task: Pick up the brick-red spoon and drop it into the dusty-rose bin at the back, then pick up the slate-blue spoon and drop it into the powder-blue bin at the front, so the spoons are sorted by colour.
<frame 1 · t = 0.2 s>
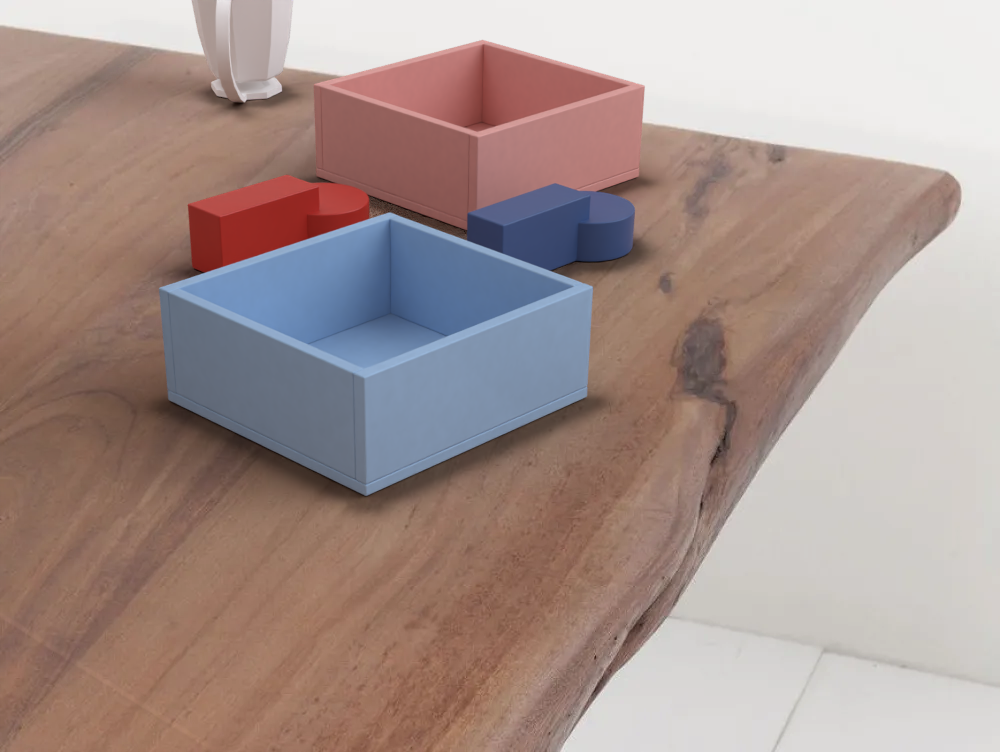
blue bin: (379, 398, 81), on the table
rose bin: (478, 176, 104), on the table
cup: (242, 100, 115), on the table
blue spoon: (527, 266, 94), on the table
red spoon: (257, 258, 94), on the table
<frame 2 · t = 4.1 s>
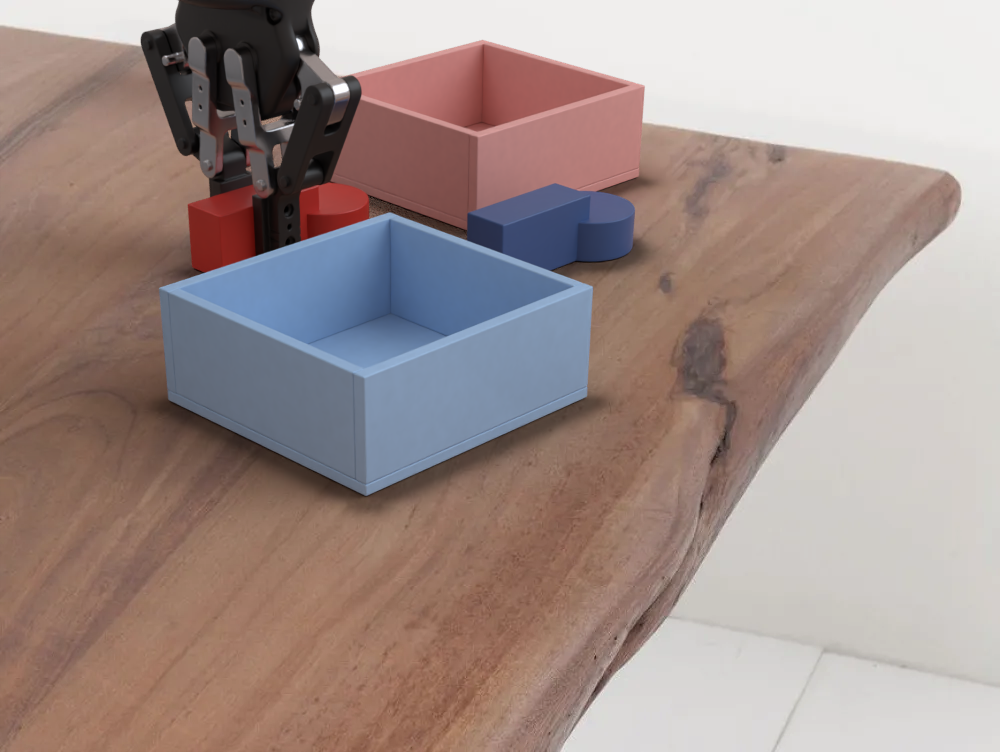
hand: (257, 256, 94), 0 cm above the table, tool pointing down, fingers closed on red spoon, 2 cm apart
red spoon: (257, 257, 94), on the table, touching gripper
everything else where it was.
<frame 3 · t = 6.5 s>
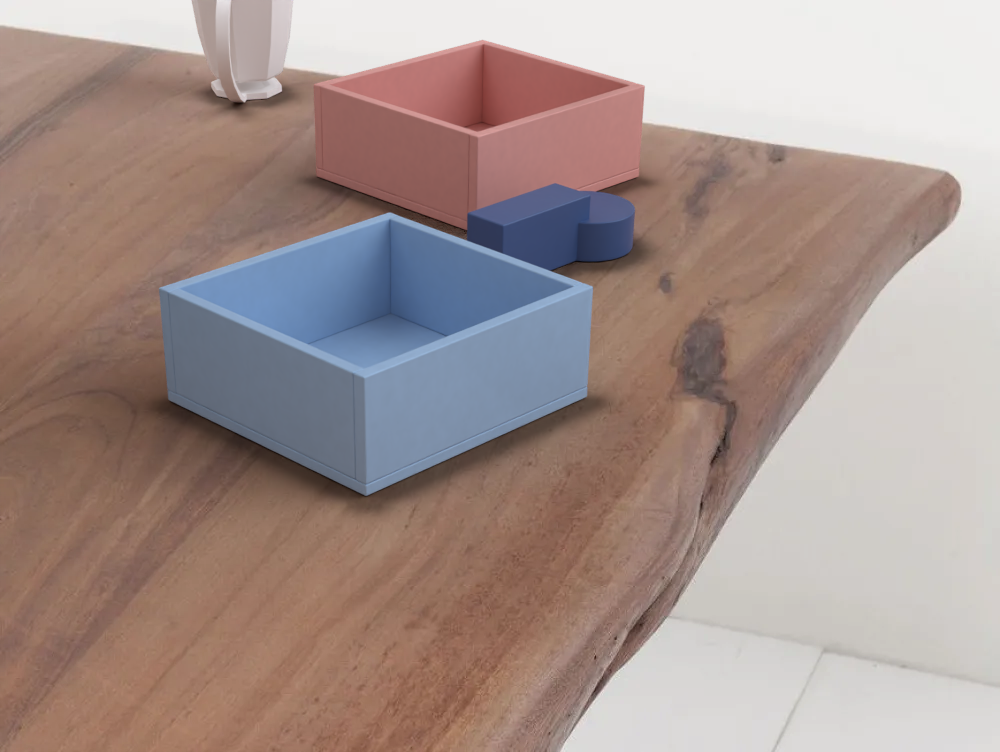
when the fingers open (5 cm above the table, at t = 9.1 s): red spoon drops 2 cm, resting on rose bin.
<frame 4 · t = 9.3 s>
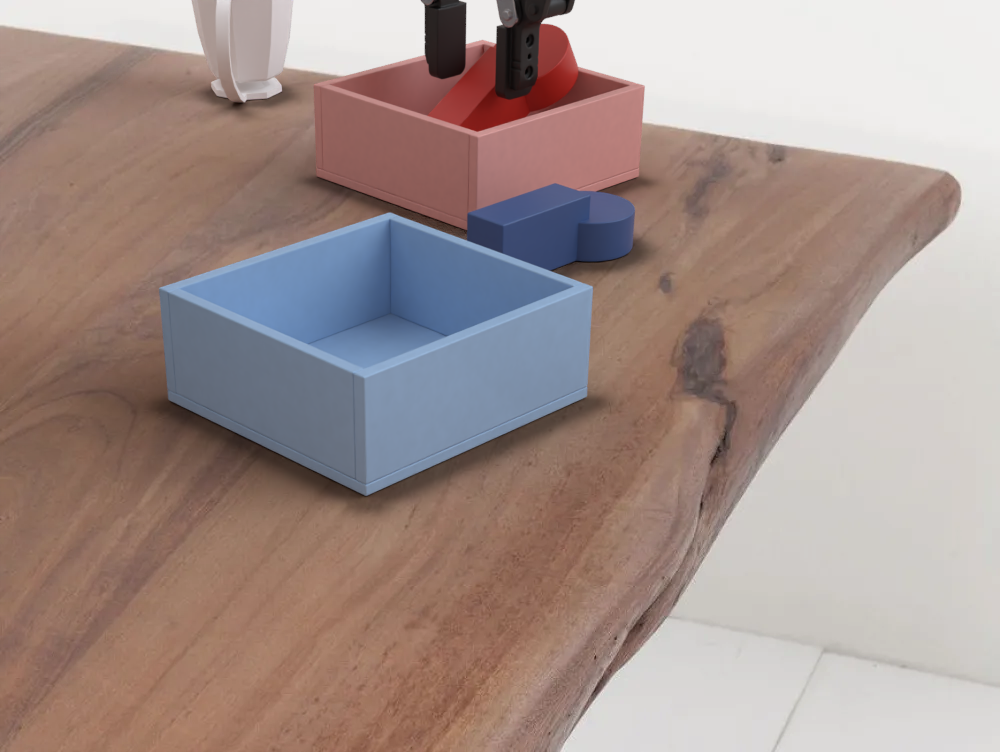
hand: (480, 84, 102), 5 cm above the table, tool pointing down, fingers open, 4 cm apart
red spoon: (489, 136, 104), point 2 cm above the table, tilted 29°, touching rose bin
everything else where it was.
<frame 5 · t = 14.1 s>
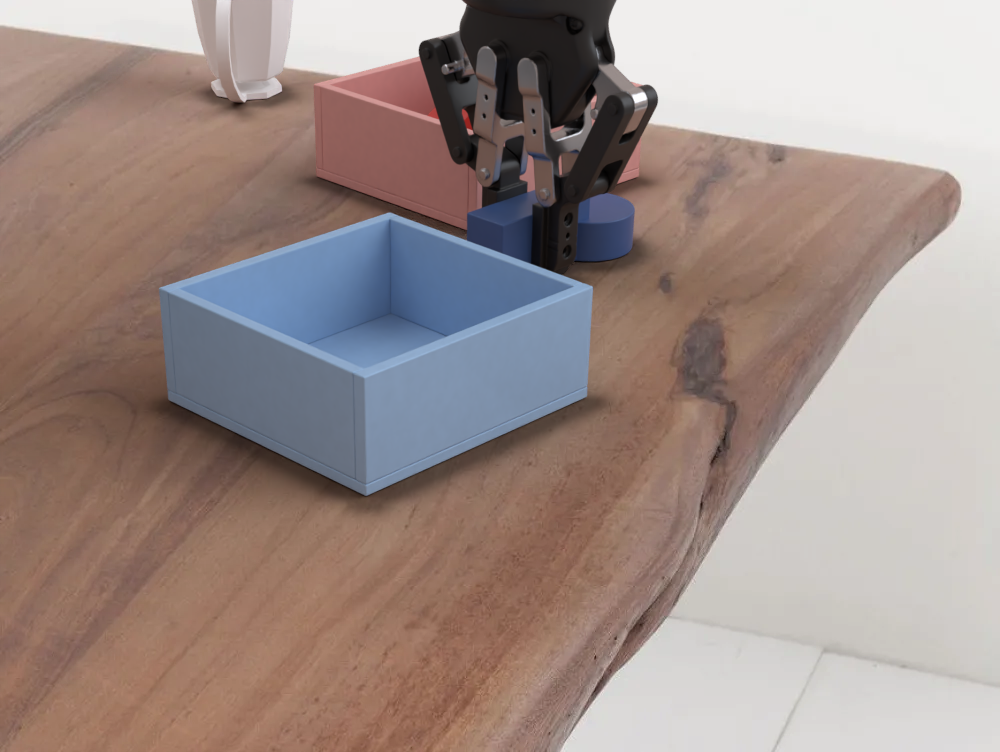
hand: (528, 264, 94), 0 cm above the table, tool pointing down, fingers closed on blue spoon, 2 cm apart
blue spoon: (527, 266, 94), on the table, touching gripper
everything else where it was.
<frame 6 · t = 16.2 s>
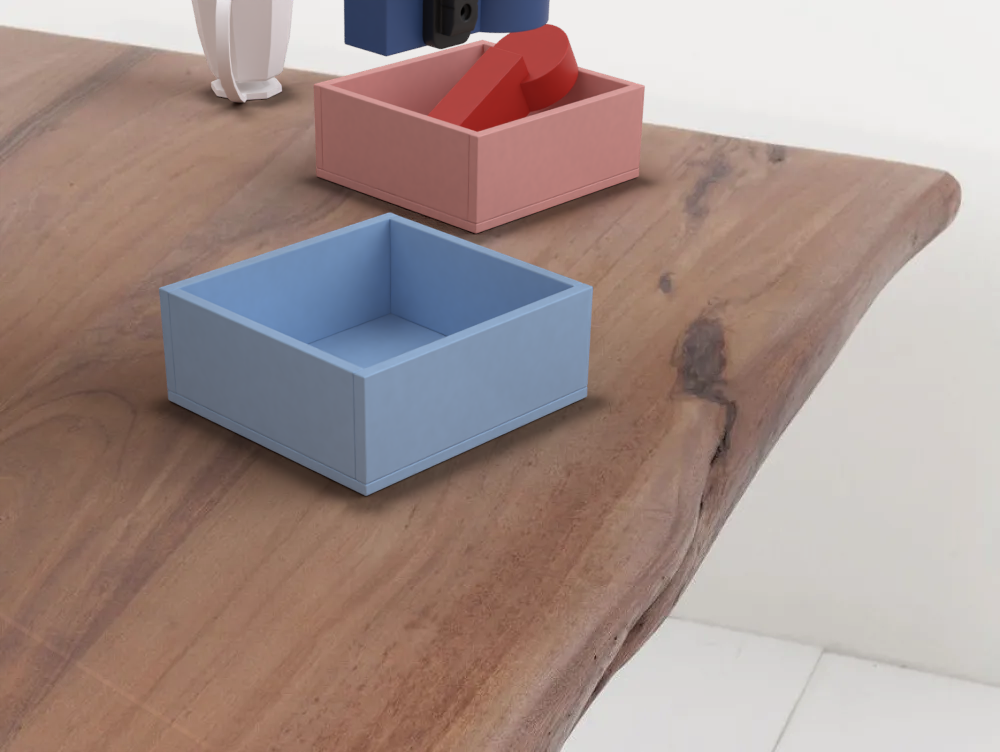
hand: (420, 34, 77), 14 cm above the table, tool pointing down, fingers closed on blue spoon, 2 cm apart
blue spoon: (420, 36, 77), point 14 cm above the table, touching gripper
everything else where it was.
when the fingers open (5 cm above the table, at t = 18.8 s): blue spoon drops 3 cm, resting on blue bin.
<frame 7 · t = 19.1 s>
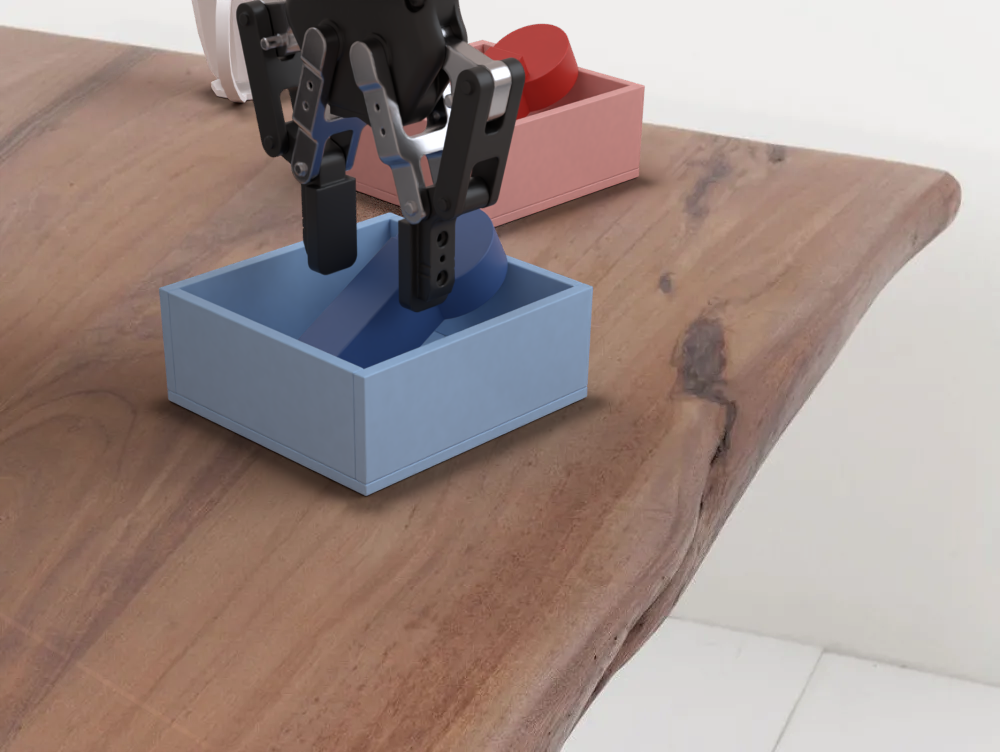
hand: (378, 285, 78), 5 cm above the table, tool pointing down, fingers open, 5 cm apart
blue spoon: (391, 350, 80), point 2 cm above the table, tilted 29°, touching blue bin
everything else where it was.
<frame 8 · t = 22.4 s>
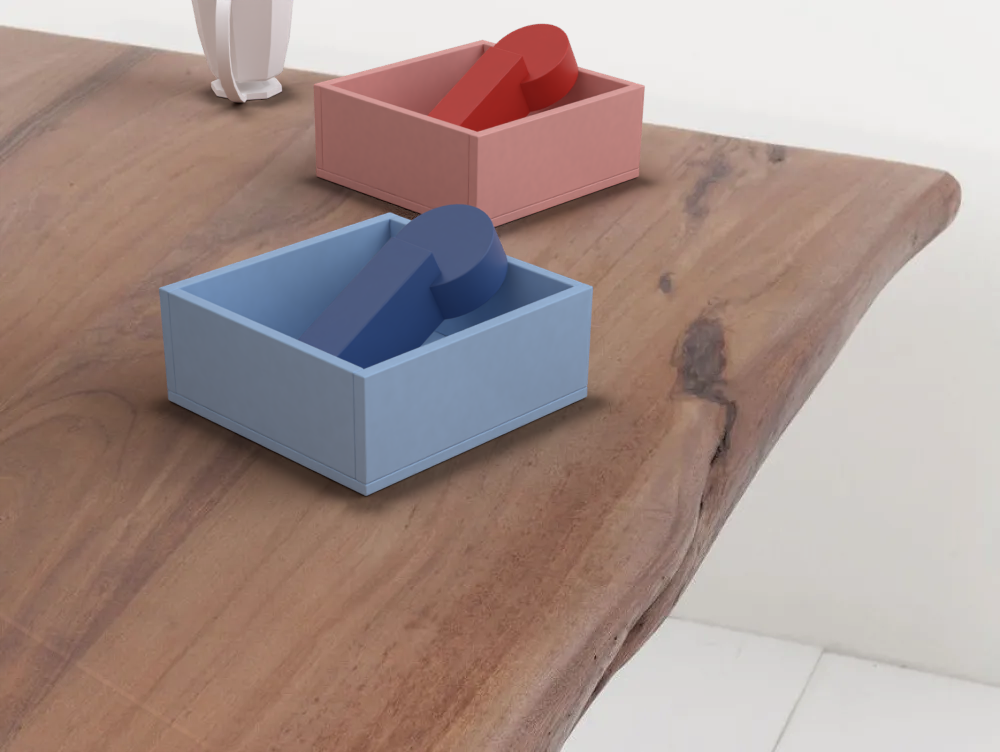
nothing on the table moved.
at the end: red spoon inside the target area in the rose bin (0.8 cm from its centre), point 2.1 cm above the rose bin's base; blue spoon inside the target area in the blue bin (0.6 cm from its centre), point 2.0 cm above the blue bin's base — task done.
